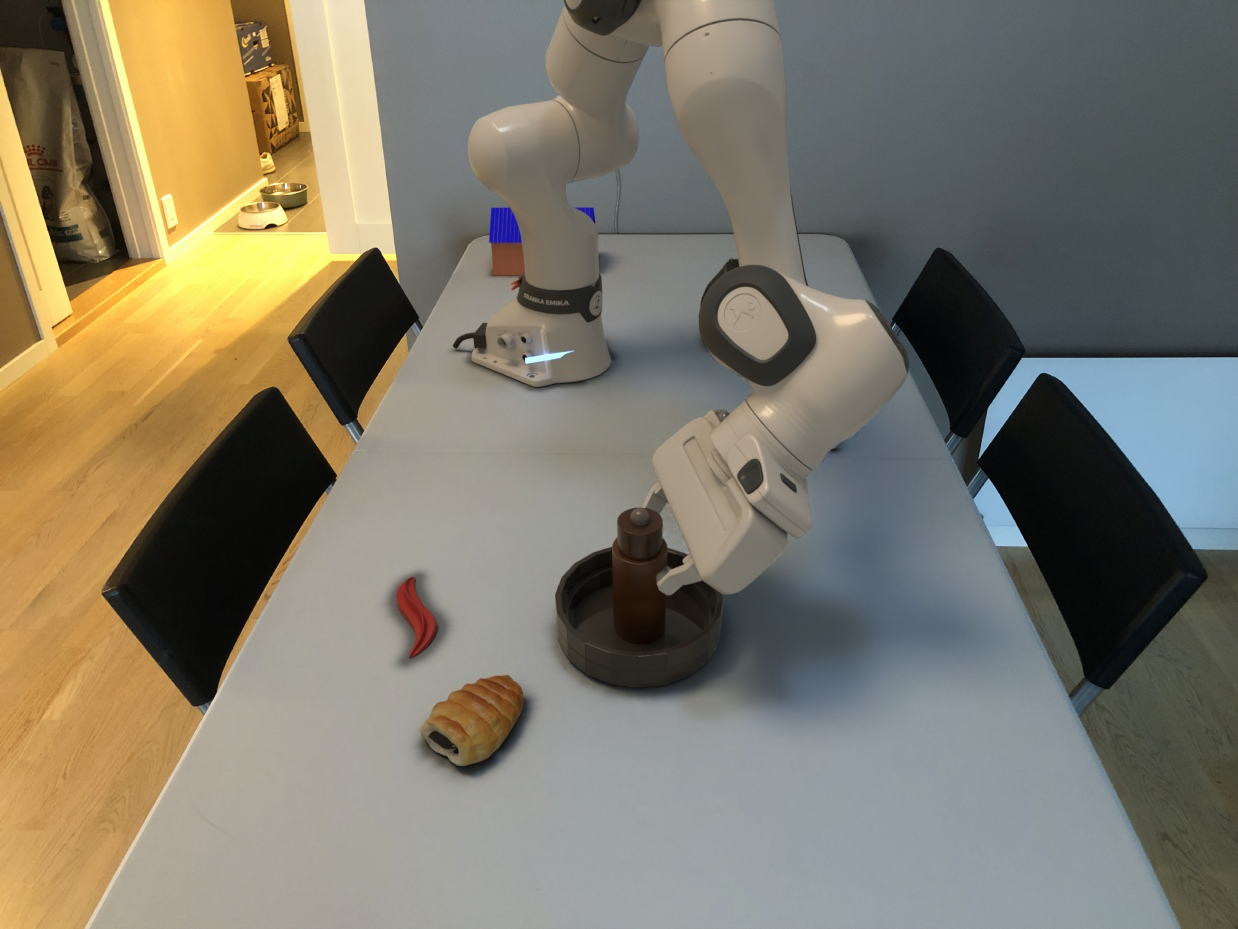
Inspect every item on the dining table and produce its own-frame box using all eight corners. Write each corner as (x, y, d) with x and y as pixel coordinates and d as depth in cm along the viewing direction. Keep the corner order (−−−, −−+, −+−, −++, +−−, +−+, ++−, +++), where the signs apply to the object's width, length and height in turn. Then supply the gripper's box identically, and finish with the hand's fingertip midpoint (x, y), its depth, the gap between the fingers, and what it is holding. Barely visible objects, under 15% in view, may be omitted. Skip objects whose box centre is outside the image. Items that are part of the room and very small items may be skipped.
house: (593, 275, 170) (592, 216, 163) (491, 275, 170) (486, 216, 164) (596, 255, 180) (595, 198, 173) (500, 255, 180) (495, 198, 174)
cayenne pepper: (432, 656, 84) (430, 642, 83) (384, 659, 83) (381, 645, 82) (444, 576, 94) (442, 562, 93) (401, 578, 93) (398, 564, 92)
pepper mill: (603, 632, 86) (601, 516, 78) (628, 601, 89) (628, 488, 82) (650, 650, 83) (652, 533, 76) (674, 617, 87) (678, 503, 80)
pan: (526, 653, 84) (522, 619, 82) (607, 559, 96) (606, 527, 93) (676, 715, 77) (678, 680, 75) (744, 606, 89) (747, 573, 87)
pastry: (488, 676, 81) (485, 647, 79) (544, 708, 78) (542, 679, 76) (415, 743, 75) (409, 713, 73) (473, 781, 72) (468, 751, 70)
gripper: (701, 384, 85) (605, 478, 89) (773, 502, 68) (650, 612, 72) (741, 418, 88) (647, 508, 92) (819, 540, 71) (700, 643, 75)
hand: (649, 555), depth 82 cm, fingers open, 8 cm apart
